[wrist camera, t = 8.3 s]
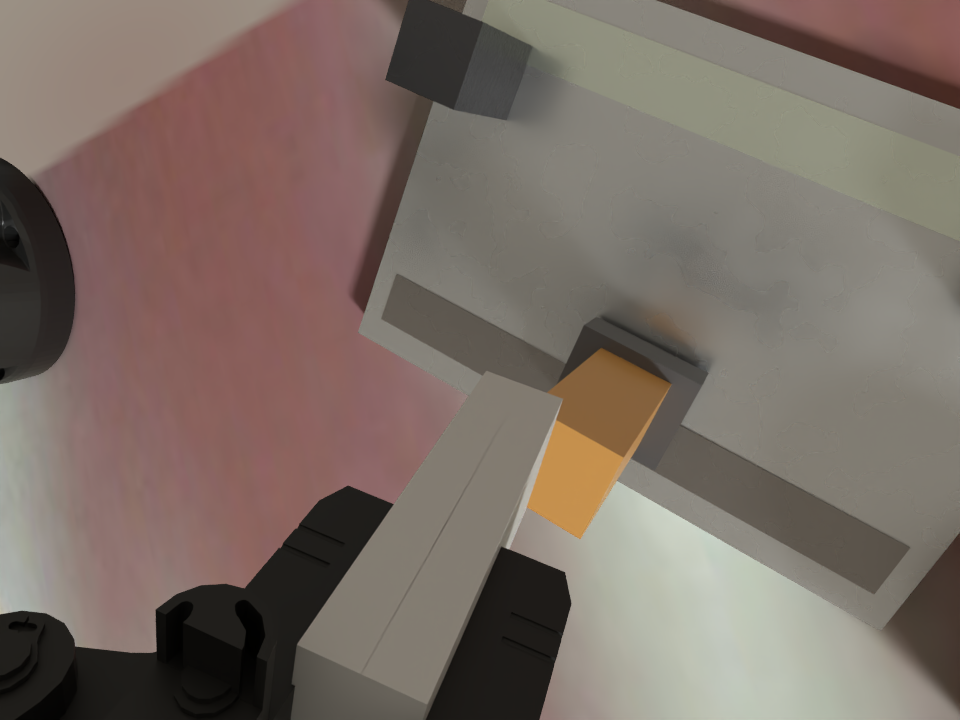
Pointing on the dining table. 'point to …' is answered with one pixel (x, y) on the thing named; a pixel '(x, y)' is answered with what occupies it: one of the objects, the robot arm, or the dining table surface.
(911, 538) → the tray
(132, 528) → the dining table surface
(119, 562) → the dining table surface
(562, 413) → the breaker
